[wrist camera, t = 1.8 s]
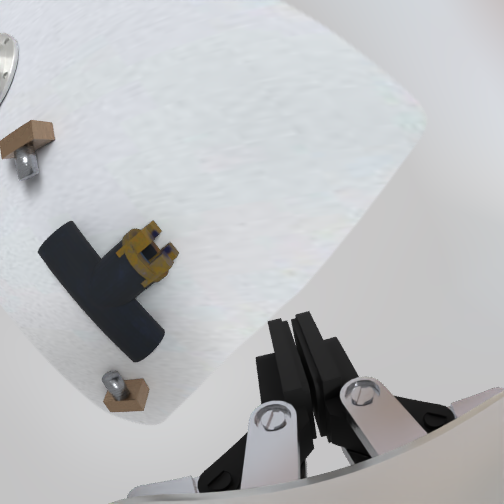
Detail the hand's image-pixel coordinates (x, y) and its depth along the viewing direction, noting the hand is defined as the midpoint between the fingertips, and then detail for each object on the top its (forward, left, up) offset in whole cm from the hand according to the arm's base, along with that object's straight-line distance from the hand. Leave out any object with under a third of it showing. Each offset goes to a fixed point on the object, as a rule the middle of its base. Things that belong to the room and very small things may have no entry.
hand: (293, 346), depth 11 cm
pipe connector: (0, -14, -18) cm, 23 cm away
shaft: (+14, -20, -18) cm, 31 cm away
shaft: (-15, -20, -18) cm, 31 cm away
